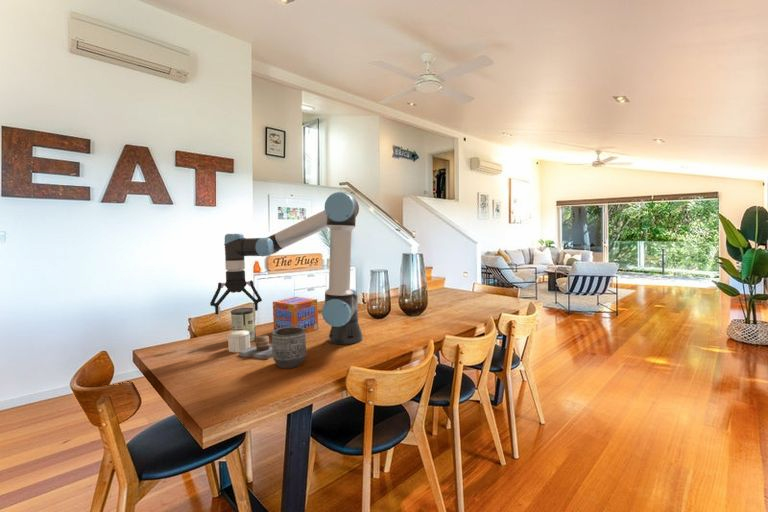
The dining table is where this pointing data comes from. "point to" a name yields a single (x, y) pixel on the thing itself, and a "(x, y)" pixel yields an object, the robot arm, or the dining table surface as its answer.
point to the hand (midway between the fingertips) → (237, 320)
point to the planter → (289, 346)
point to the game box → (296, 313)
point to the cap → (238, 341)
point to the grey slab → (259, 349)
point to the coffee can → (243, 321)
